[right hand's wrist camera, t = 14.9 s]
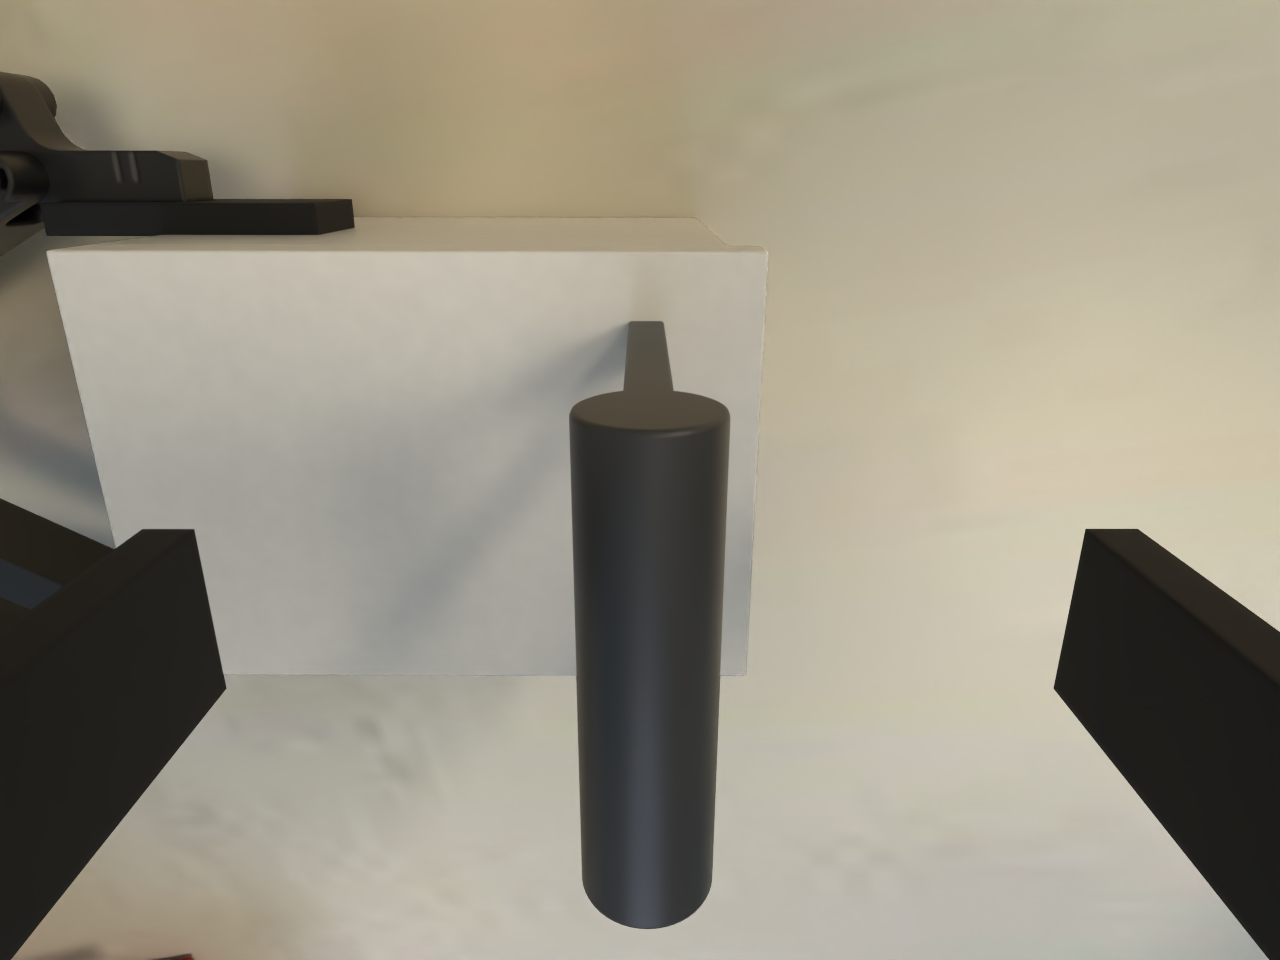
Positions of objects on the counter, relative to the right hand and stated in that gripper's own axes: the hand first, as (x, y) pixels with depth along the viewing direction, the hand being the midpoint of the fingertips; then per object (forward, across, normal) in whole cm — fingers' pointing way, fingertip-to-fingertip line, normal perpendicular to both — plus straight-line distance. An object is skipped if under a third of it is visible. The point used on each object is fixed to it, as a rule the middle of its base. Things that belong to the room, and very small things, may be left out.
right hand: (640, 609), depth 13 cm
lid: (+7, -5, 0) cm, 8 cm away
